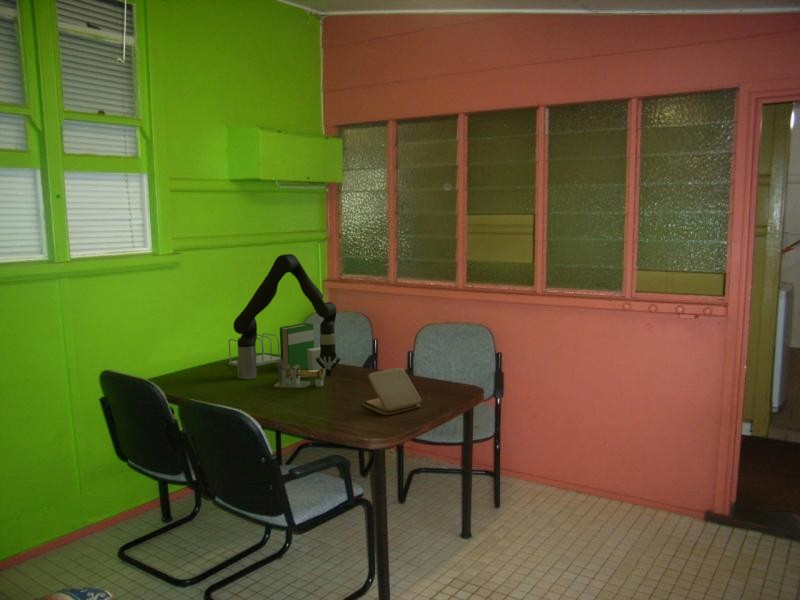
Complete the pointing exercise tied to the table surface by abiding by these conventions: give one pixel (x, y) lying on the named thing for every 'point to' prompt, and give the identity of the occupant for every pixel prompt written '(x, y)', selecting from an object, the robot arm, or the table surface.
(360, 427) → the table surface
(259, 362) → the file sorter
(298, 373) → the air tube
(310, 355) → the skincare box
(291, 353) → the hardback book
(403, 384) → the case
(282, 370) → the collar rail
